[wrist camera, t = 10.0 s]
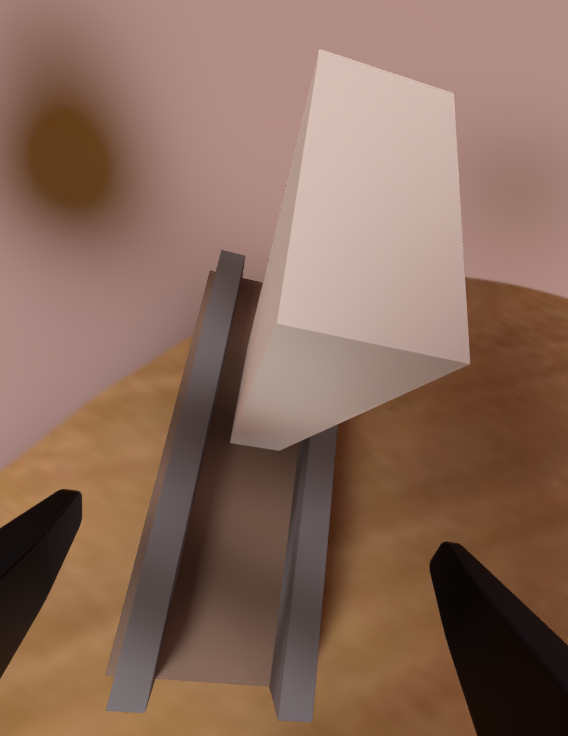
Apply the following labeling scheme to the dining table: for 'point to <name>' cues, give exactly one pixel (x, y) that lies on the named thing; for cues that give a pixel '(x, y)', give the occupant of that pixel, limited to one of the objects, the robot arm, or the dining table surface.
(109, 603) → the dining table surface
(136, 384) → the dining table surface
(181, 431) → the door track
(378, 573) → the dining table surface
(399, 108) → the door panel
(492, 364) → the dining table surface
